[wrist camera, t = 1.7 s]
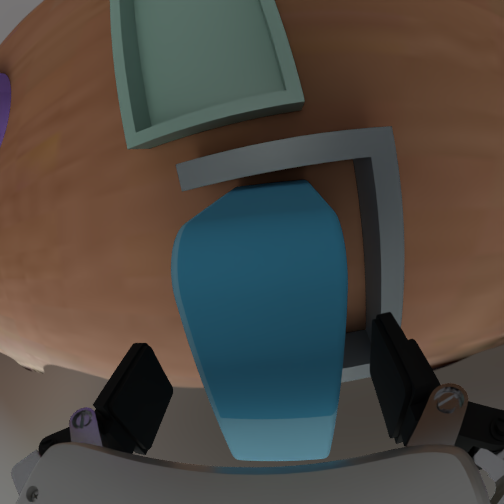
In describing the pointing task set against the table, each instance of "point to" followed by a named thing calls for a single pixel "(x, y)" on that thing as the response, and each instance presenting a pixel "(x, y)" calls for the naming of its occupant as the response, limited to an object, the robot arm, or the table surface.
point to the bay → (370, 200)
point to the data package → (266, 316)
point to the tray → (199, 66)
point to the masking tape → (4, 103)
